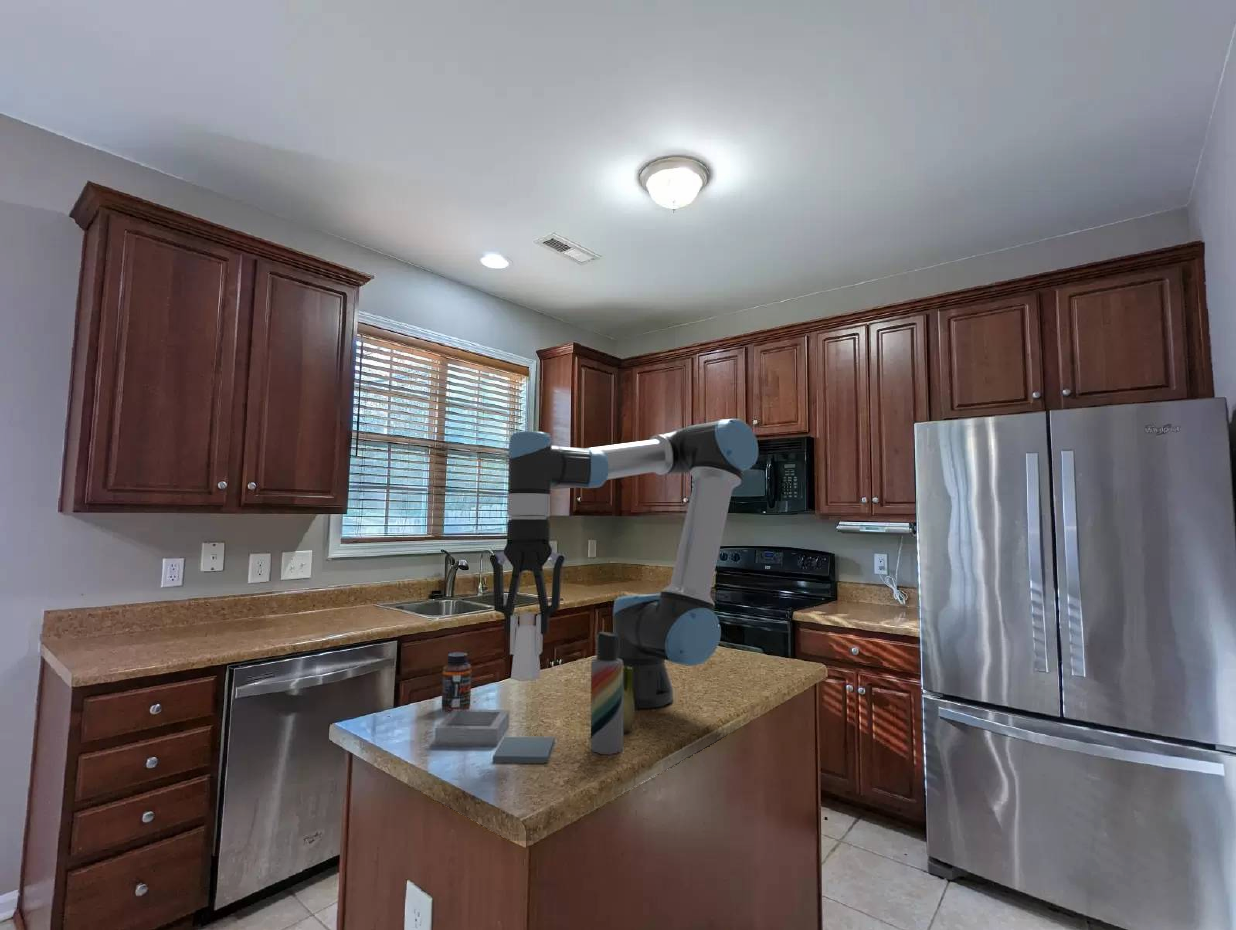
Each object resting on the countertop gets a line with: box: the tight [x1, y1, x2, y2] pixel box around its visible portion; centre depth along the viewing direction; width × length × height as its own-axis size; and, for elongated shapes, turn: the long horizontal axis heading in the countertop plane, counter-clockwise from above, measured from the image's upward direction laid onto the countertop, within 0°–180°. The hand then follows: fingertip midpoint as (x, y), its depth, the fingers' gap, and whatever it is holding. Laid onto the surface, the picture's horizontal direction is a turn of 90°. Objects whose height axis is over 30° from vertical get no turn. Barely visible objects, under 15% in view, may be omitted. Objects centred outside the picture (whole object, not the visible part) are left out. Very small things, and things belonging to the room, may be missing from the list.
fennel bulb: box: [623, 666, 636, 735], centre depth 115 cm, size 6×5×12 cm
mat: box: [492, 736, 555, 764], centre depth 104 cm, size 9×9×1 cm
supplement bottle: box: [441, 651, 472, 713], centre depth 129 cm, size 6×6×11 cm
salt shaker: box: [510, 611, 541, 682], centre depth 105 cm, size 5×5×11 cm
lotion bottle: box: [590, 631, 624, 755], centre depth 106 cm, size 6×6×20 cm
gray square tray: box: [434, 708, 510, 748], centre depth 112 cm, size 11×11×3 cm
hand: (526, 652), depth 105 cm, fingers closed on salt shaker, 4 cm apart
